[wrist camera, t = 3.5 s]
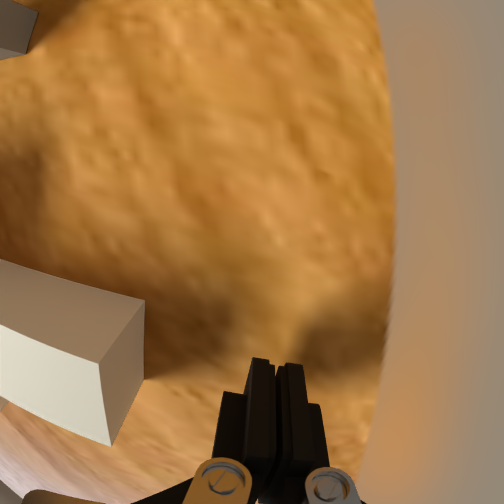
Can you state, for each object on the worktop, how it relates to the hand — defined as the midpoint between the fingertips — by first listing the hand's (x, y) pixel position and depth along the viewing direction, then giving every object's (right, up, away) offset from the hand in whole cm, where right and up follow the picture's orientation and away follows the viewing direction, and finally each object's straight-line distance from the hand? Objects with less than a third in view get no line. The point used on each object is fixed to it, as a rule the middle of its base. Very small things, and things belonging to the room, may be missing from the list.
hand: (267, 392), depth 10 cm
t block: (-11, +2, +2) cm, 11 cm away
